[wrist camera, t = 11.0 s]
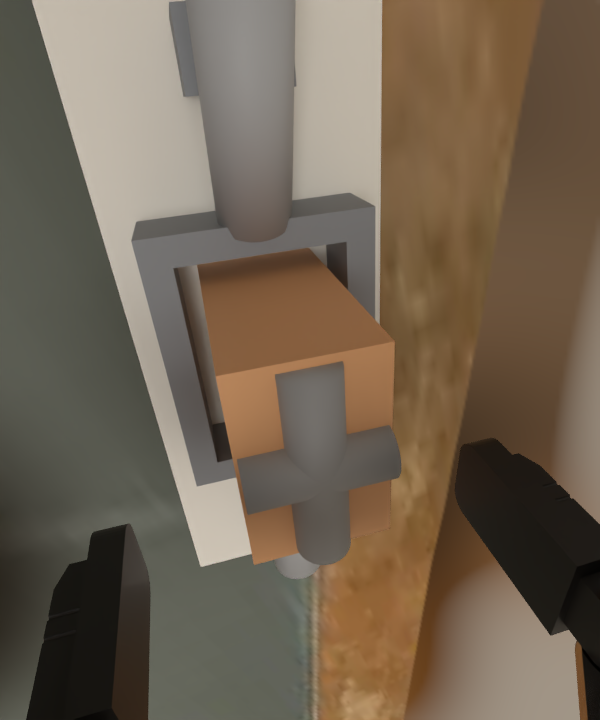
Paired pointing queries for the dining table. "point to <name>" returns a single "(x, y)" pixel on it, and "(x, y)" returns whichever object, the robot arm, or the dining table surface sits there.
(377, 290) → the shaft rig
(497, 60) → the dining table surface
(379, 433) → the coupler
